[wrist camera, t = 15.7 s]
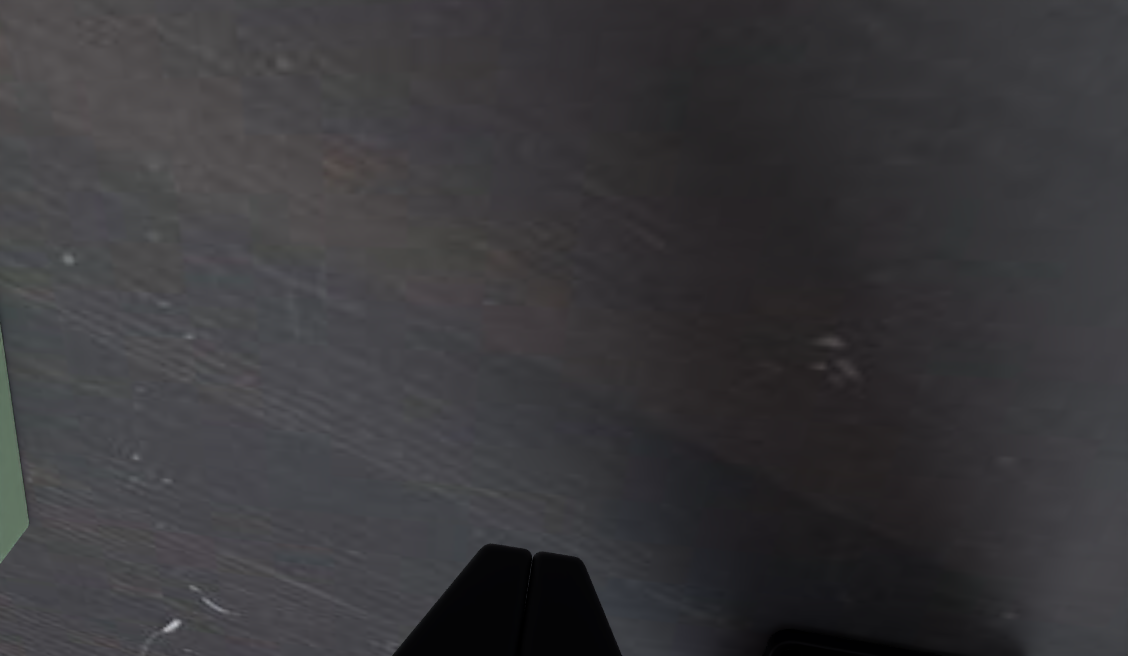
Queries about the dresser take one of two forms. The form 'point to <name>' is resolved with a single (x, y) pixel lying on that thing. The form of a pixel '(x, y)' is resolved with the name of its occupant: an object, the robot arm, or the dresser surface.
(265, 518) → the dresser surface
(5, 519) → the button block
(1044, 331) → the dresser surface
